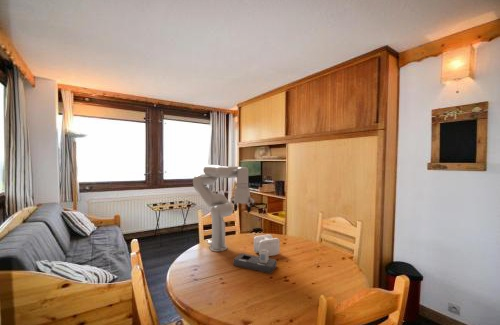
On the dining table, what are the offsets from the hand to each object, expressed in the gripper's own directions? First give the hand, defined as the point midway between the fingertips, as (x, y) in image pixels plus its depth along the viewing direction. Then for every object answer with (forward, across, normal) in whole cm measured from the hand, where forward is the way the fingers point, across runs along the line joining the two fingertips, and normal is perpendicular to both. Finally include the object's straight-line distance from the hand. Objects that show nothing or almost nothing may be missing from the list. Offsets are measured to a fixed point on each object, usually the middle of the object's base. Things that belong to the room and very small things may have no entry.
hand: (242, 211), depth 153 cm
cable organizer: (+31, +13, +12) cm, 35 cm away
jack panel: (+30, +13, -8) cm, 34 cm away
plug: (+30, +19, -8) cm, 36 cm away
